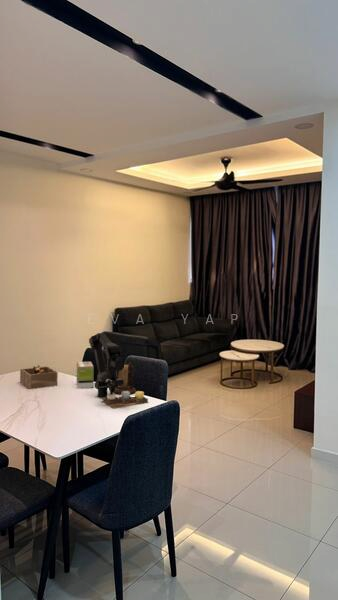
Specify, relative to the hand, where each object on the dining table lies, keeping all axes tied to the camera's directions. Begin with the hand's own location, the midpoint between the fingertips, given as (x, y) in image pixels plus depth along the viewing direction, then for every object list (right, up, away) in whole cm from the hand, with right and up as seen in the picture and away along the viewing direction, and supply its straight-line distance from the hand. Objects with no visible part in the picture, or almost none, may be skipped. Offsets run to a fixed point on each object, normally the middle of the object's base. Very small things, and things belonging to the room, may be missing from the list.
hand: (111, 394), depth 238 cm
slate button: (+8, -3, +1) cm, 9 cm away
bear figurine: (-53, -3, +40) cm, 66 cm away
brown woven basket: (+5, -5, +22) cm, 23 cm away
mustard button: (+16, -3, +2) cm, 16 cm away
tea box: (-23, -3, +39) cm, 45 cm away
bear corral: (-54, -2, +39) cm, 67 cm away
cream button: (0, -4, 0) cm, 4 cm away
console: (+7, -6, +1) cm, 10 cm away
